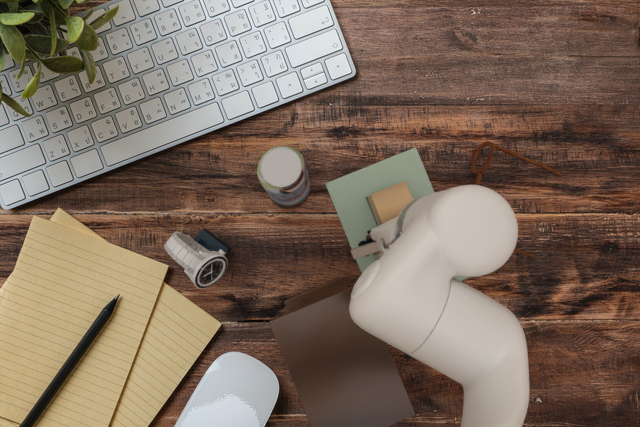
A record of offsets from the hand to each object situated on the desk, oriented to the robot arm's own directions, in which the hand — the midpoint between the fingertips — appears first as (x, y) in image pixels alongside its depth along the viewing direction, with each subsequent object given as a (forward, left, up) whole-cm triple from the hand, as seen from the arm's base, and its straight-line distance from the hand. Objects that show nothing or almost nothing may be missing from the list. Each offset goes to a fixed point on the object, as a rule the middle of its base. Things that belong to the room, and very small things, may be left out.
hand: (398, 230), depth 67 cm
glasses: (-2, -16, -1) cm, 16 cm away
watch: (+7, +26, -1) cm, 27 cm away
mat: (0, 0, -1) cm, 1 cm away
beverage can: (+12, +12, -1) cm, 17 cm away
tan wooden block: (0, 0, -1) cm, 1 cm away
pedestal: (-9, +14, -1) cm, 17 cm away
